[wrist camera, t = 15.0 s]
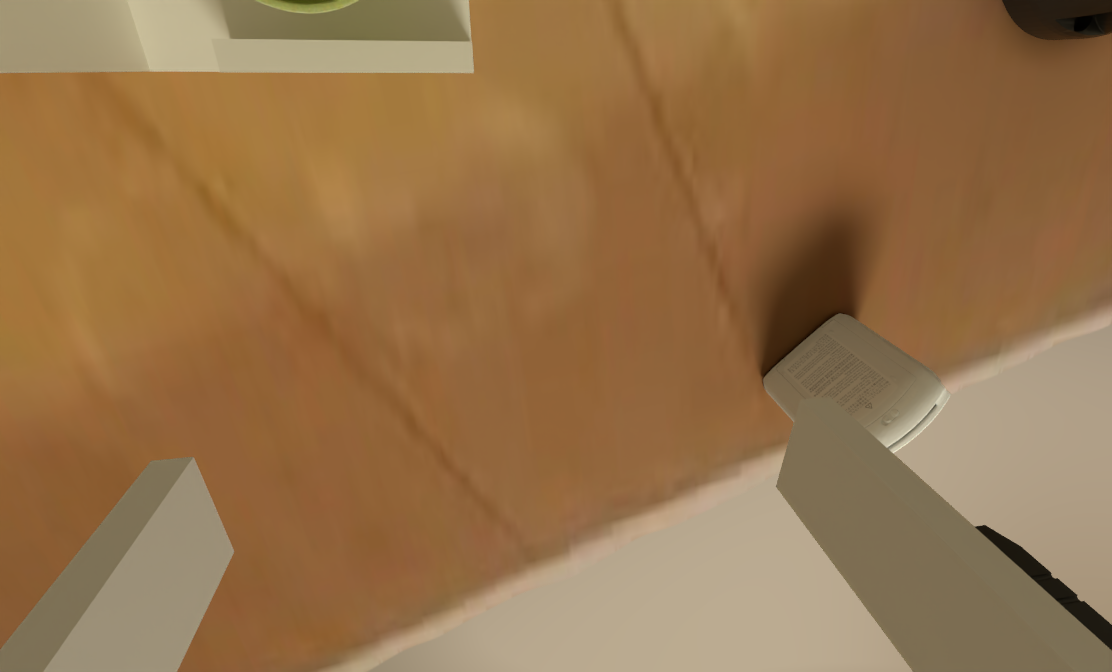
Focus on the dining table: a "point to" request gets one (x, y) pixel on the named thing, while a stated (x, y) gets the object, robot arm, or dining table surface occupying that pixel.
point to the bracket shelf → (234, 37)
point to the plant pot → (308, 5)
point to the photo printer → (860, 381)
